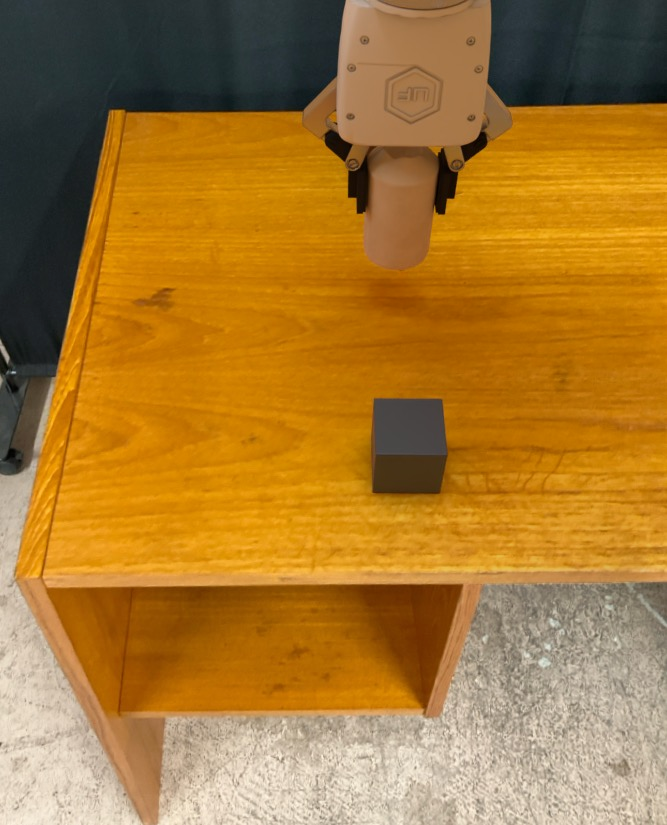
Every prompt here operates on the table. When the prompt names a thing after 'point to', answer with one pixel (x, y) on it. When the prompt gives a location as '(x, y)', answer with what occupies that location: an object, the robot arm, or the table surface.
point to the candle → (399, 205)
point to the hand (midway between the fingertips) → (400, 201)
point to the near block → (408, 445)
